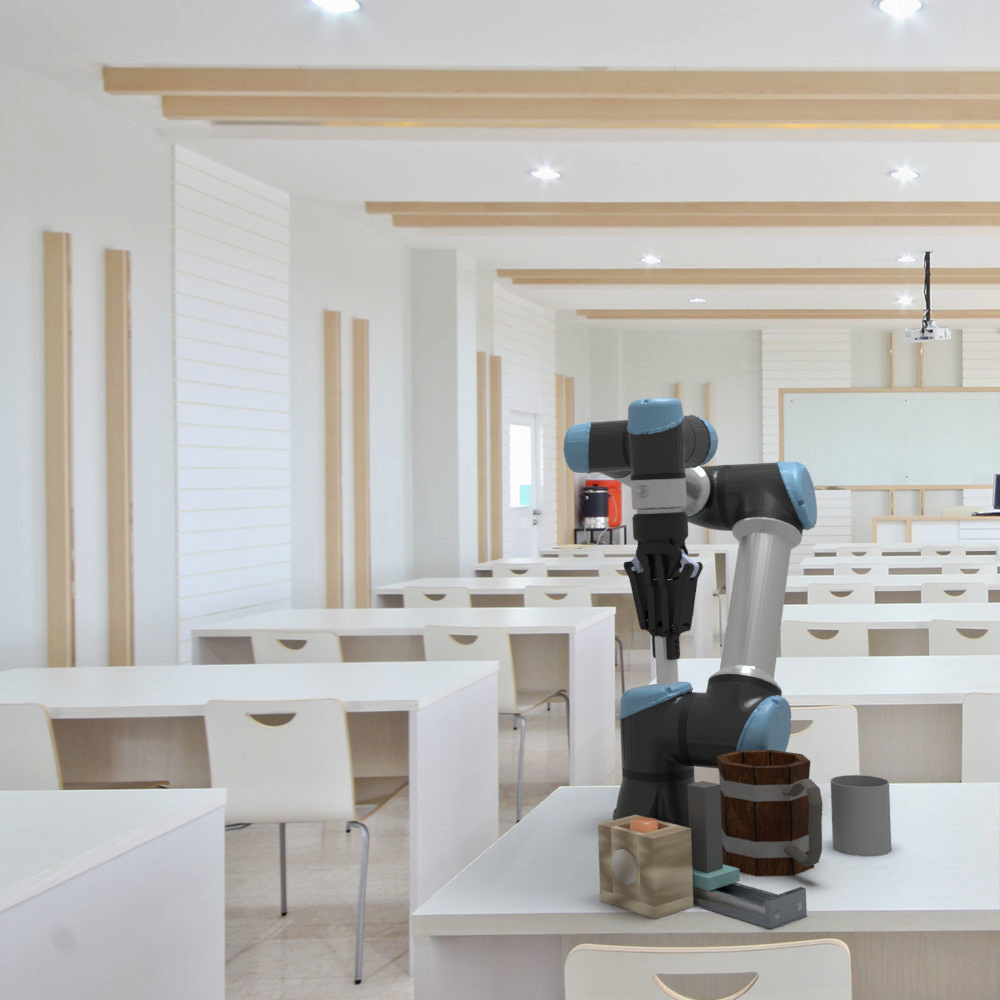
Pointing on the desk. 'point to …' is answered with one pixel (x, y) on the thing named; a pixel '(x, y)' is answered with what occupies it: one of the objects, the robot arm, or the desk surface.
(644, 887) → the wooden box
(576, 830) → the desk surface
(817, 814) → the mug
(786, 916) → the rail track
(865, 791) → the cup
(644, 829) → the orange cylinder
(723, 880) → the carriage
